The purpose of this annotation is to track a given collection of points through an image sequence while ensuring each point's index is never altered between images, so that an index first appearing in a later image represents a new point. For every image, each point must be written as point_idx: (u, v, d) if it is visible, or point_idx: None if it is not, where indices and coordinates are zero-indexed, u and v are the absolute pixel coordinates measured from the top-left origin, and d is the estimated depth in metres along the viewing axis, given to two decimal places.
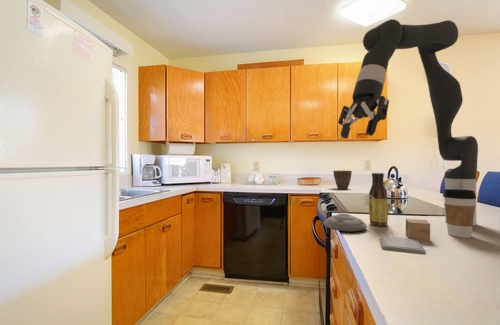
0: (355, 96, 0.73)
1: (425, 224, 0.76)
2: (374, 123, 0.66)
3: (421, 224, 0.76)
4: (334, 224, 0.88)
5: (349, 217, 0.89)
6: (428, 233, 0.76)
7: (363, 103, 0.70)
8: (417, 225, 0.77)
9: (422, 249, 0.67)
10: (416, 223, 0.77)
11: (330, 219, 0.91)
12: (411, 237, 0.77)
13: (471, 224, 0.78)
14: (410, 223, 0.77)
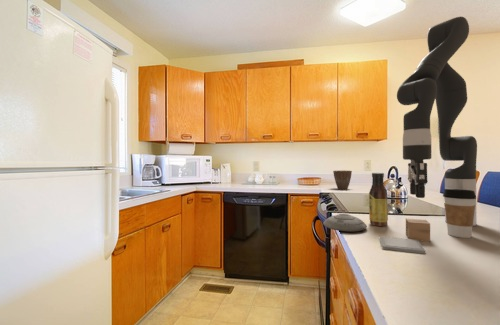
0: None
1: (425, 224, 0.76)
2: (419, 188, 0.74)
3: (421, 224, 0.76)
4: (334, 224, 0.88)
5: (349, 217, 0.89)
6: (428, 233, 0.76)
7: (410, 167, 0.78)
8: (417, 225, 0.77)
9: (422, 249, 0.67)
10: (416, 223, 0.77)
11: (330, 219, 0.91)
12: (411, 237, 0.77)
13: (471, 224, 0.78)
14: (410, 223, 0.77)
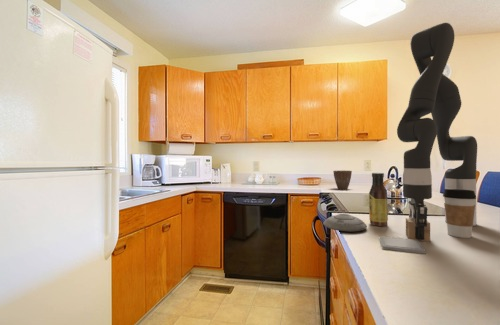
0: None
1: None
2: (419, 230, 0.75)
3: None
4: (334, 224, 0.88)
5: (349, 217, 0.89)
6: (428, 233, 0.75)
7: (410, 206, 0.78)
8: None
9: (422, 249, 0.67)
10: None
11: (330, 219, 0.91)
12: (411, 237, 0.77)
13: (471, 224, 0.78)
14: (410, 223, 0.77)
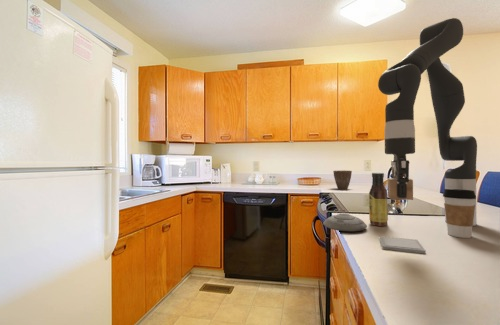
0: None
1: None
2: (401, 187, 0.68)
3: None
4: (334, 224, 0.88)
5: (349, 217, 0.89)
6: (411, 190, 0.69)
7: (392, 163, 0.71)
8: None
9: (422, 249, 0.67)
10: None
11: (330, 219, 0.91)
12: (392, 196, 0.70)
13: (471, 224, 0.78)
14: (391, 180, 0.70)
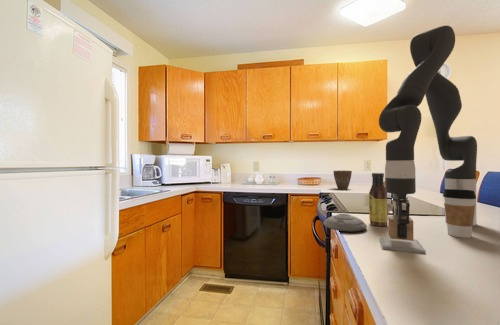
0: None
1: None
2: (401, 228, 0.68)
3: None
4: (334, 224, 0.88)
5: (349, 217, 0.89)
6: (411, 231, 0.69)
7: (393, 202, 0.71)
8: None
9: (422, 249, 0.67)
10: None
11: (330, 219, 0.91)
12: (393, 235, 0.70)
13: (471, 224, 0.78)
14: (392, 220, 0.70)
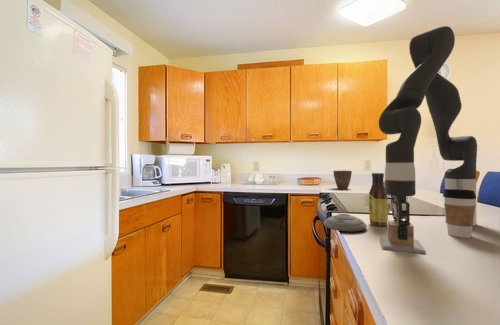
0: None
1: (408, 227, 0.69)
2: (401, 229, 0.68)
3: None
4: (334, 224, 0.88)
5: (349, 217, 0.89)
6: (411, 237, 0.69)
7: (392, 204, 0.71)
8: None
9: (422, 249, 0.67)
10: None
11: (330, 219, 0.91)
12: (393, 241, 0.70)
13: (471, 224, 0.78)
14: (392, 226, 0.70)
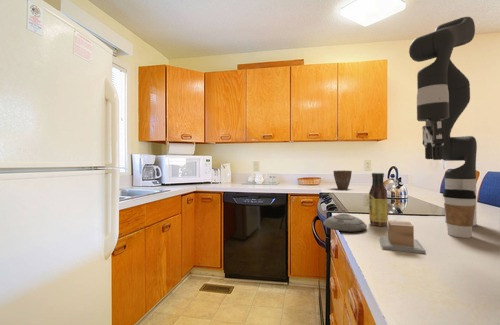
0: None
1: (408, 227, 0.69)
2: (436, 149, 0.68)
3: (404, 227, 0.69)
4: (334, 224, 0.88)
5: (349, 217, 0.89)
6: (411, 237, 0.69)
7: (425, 128, 0.72)
8: (400, 228, 0.70)
9: (422, 249, 0.67)
10: (398, 225, 0.70)
11: (330, 219, 0.91)
12: (393, 241, 0.70)
13: (471, 224, 0.78)
14: (392, 226, 0.70)
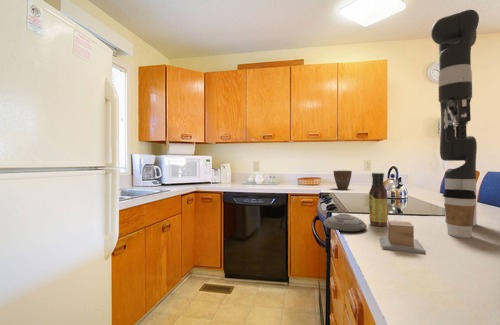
0: (442, 102, 0.75)
1: (408, 227, 0.69)
2: (461, 127, 0.68)
3: (404, 227, 0.69)
4: (334, 224, 0.88)
5: (349, 217, 0.89)
6: (411, 237, 0.69)
7: (448, 109, 0.72)
8: (400, 228, 0.70)
9: (422, 249, 0.67)
10: (398, 225, 0.70)
11: (330, 219, 0.91)
12: (393, 241, 0.70)
13: (471, 224, 0.78)
14: (392, 226, 0.70)
